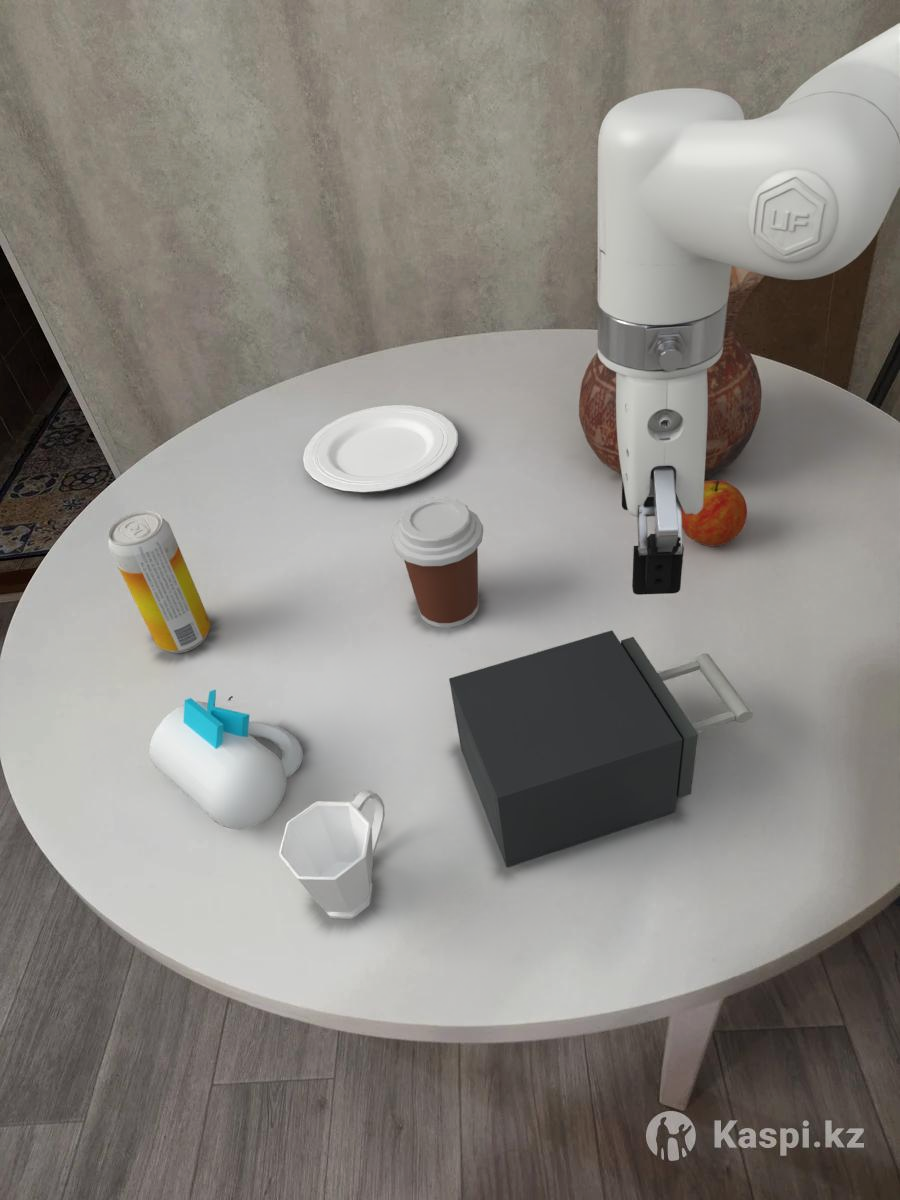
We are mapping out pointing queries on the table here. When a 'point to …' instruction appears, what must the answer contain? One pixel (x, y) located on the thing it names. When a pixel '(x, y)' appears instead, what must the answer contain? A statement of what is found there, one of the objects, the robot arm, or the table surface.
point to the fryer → (565, 746)
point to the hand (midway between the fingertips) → (648, 546)
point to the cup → (335, 853)
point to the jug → (728, 393)
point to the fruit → (717, 515)
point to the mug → (224, 761)
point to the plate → (380, 449)
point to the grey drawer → (675, 713)
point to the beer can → (159, 580)
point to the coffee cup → (441, 558)
